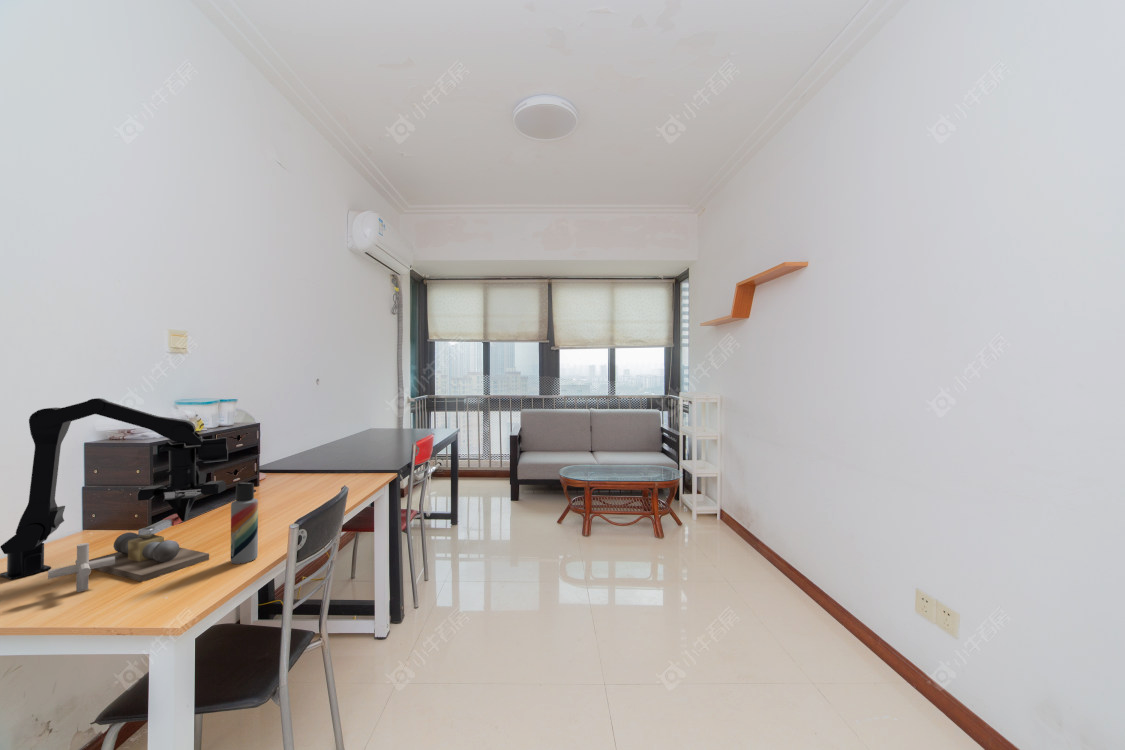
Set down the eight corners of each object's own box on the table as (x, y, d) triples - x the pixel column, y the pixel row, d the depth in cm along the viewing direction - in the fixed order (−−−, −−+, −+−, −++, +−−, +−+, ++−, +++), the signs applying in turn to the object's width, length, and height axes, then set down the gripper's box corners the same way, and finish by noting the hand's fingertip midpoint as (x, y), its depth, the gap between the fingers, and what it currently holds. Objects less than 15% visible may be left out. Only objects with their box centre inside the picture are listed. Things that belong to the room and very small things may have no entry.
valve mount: (85, 566, 111) (85, 540, 111) (153, 547, 124) (154, 524, 124) (141, 581, 102) (142, 553, 102) (209, 559, 115) (209, 534, 115)
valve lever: (149, 537, 112) (149, 530, 112) (135, 538, 112) (135, 530, 112) (185, 520, 127) (185, 513, 127) (173, 521, 126) (173, 513, 127)
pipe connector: (111, 576, 105) (112, 533, 106) (117, 588, 99) (117, 542, 99) (46, 591, 98) (47, 545, 98) (48, 605, 91) (49, 556, 92)
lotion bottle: (225, 562, 113) (225, 483, 113) (247, 554, 118) (248, 479, 119) (240, 565, 111) (241, 485, 112) (262, 557, 116) (263, 480, 117)
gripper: (233, 457, 135) (234, 509, 135) (159, 462, 130) (160, 516, 130) (216, 464, 125) (217, 520, 125) (134, 470, 119) (136, 528, 119)
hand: (183, 520), depth 125 cm, fingers closed
